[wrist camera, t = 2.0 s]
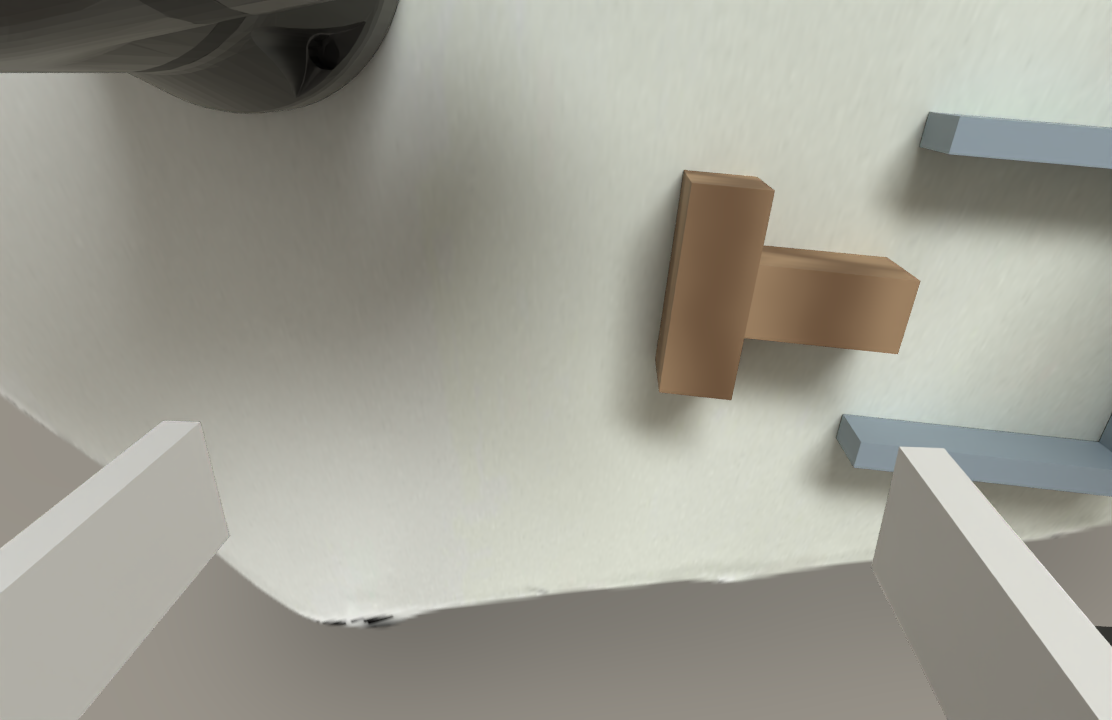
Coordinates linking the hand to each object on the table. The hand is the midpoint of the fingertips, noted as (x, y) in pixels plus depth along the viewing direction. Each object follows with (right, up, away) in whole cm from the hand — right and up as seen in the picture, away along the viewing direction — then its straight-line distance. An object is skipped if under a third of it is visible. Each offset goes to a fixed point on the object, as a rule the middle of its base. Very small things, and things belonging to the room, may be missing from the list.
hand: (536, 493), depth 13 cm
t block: (+11, +7, +21) cm, 25 cm away
